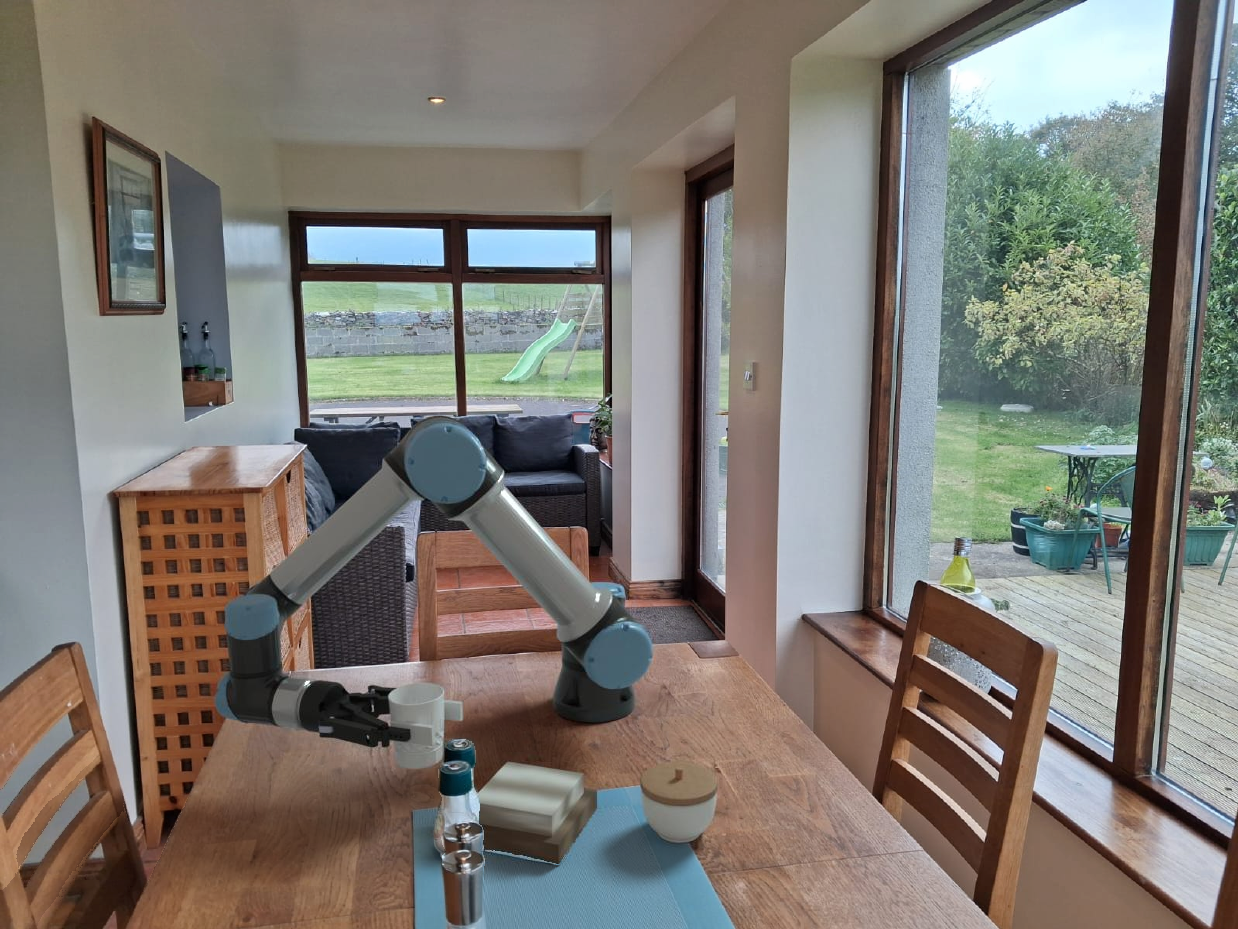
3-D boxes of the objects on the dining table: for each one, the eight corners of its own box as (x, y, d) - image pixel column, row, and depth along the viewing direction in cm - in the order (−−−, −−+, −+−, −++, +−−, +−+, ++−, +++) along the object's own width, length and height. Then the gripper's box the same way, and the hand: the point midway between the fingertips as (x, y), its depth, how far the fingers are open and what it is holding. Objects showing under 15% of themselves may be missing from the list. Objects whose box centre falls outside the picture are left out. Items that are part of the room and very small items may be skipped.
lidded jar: (694, 862, 121) (694, 795, 120) (625, 837, 127) (625, 774, 126) (730, 824, 130) (731, 762, 129) (664, 803, 136) (665, 743, 134)
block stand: (503, 792, 139) (502, 755, 138) (597, 808, 134) (596, 770, 134) (456, 846, 125) (454, 805, 124) (558, 866, 120) (558, 823, 119)
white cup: (383, 770, 131) (379, 703, 129) (404, 744, 138) (401, 681, 137) (436, 773, 129) (432, 706, 128) (455, 748, 137) (451, 684, 135)
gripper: (353, 701, 149) (481, 718, 141) (268, 759, 129) (411, 782, 122) (350, 657, 147) (479, 672, 140) (264, 709, 128) (408, 729, 121)
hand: (447, 723), depth 131 cm, fingers closed on white cup, 7 cm apart
